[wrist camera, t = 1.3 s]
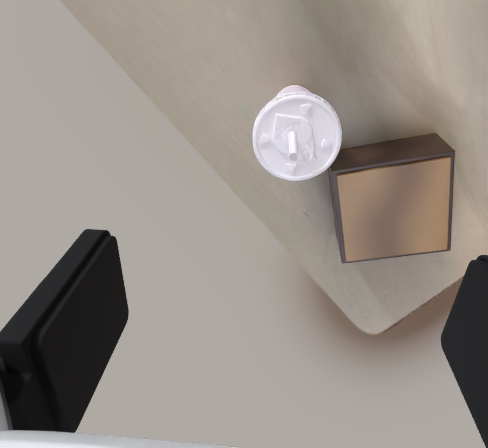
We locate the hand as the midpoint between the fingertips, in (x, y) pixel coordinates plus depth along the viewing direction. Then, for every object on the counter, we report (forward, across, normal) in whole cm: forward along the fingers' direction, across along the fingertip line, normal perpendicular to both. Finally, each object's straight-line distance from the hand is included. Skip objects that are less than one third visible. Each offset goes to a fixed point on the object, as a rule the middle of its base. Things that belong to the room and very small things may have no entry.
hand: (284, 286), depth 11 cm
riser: (+29, -11, +10) cm, 32 cm away
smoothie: (+29, -1, +2) cm, 29 cm away
